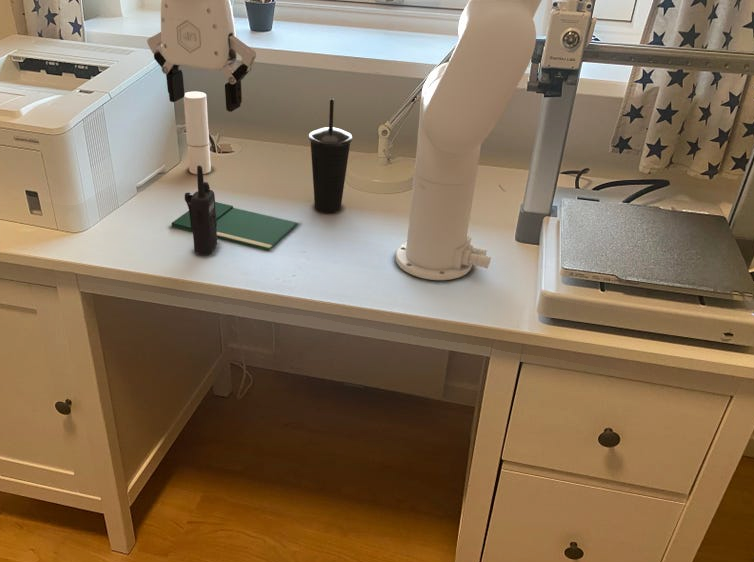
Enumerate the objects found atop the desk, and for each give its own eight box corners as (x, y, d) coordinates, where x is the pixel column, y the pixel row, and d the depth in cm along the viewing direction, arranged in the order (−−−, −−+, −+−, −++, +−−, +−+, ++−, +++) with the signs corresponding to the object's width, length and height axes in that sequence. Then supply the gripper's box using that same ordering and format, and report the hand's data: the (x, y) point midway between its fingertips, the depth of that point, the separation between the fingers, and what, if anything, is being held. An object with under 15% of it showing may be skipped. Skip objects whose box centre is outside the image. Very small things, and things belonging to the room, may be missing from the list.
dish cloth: (297, 224, 134) (297, 220, 134) (268, 250, 126) (268, 246, 126) (204, 203, 140) (204, 199, 140) (171, 226, 132) (171, 222, 131)
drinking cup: (344, 219, 137) (349, 108, 125) (303, 213, 138) (304, 103, 126) (351, 201, 143) (357, 95, 131) (312, 197, 144) (315, 90, 132)
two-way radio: (210, 258, 123) (204, 170, 114) (184, 255, 124) (176, 167, 115) (220, 242, 128) (215, 157, 119) (195, 240, 128) (188, 154, 119)
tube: (215, 170, 152) (210, 95, 144) (197, 176, 150) (191, 99, 141) (202, 164, 155) (197, 90, 146) (185, 169, 152) (178, 94, 144)
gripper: (125, -24, 103) (141, 103, 113) (237, -12, 97) (244, 120, 107) (156, -32, 108) (169, 89, 118) (264, -21, 103) (268, 105, 113)
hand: (205, 104), depth 113 cm, fingers open, 9 cm apart
